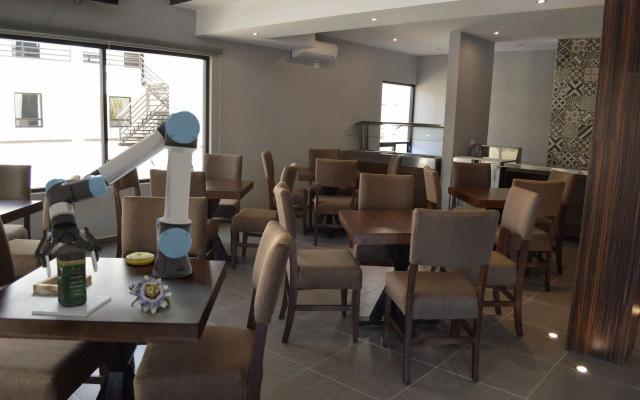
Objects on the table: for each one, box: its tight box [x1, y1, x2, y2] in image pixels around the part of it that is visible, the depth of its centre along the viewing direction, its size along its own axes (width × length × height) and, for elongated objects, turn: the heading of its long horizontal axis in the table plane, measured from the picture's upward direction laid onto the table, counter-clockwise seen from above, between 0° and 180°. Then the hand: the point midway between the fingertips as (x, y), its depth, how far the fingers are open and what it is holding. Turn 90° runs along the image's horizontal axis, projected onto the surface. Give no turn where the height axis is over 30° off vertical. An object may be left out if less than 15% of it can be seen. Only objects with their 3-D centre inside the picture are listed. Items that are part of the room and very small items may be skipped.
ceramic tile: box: [31, 295, 112, 318], centre depth 168 cm, size 17×17×1 cm
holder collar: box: [32, 273, 92, 296], centre depth 187 cm, size 13×15×3 cm
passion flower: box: [128, 274, 173, 315], centre depth 167 cm, size 13×12×14 cm
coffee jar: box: [55, 245, 87, 307], centre depth 167 cm, size 10×8×19 cm
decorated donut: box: [125, 251, 155, 266], centre depth 225 cm, size 11×12×4 cm
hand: (73, 272), depth 165 cm, fingers open, 13 cm apart
